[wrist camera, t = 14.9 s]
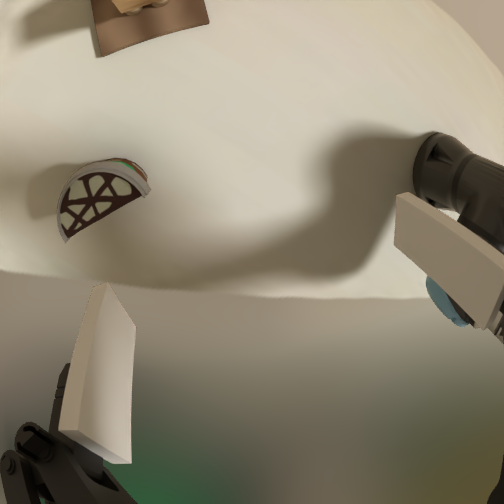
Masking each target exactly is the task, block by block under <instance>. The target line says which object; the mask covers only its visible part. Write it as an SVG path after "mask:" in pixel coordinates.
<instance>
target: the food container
mask: <svg viewBox="0 0 504 504" xmlns="http://www.w3.org/2000/svg"><path fill="white" fill-rule="evenodd" d="M147 178H148V177H147V175H146V174H145V172H144V171H143V169H141V168H140V167H139V166H138V165H137V164H136V163H134V162H132V161H129V160H127V159H122V158H113V159H109V160H106V161H102V162H95V163H92V164H89V165H86V166H84V167H83V168H81V169H79V170H78V171H77V172H75V173H74V174H73V175H72V176H71V178H70V179H69V180H68V181H67V183H66V185H65V186H64V188H63V190H62V193H61V195H60V198H59V201H58V206H57V222H58V227H59V231H60V234H61V236H62V238H63V240H64V242H65V243H66V242H67V241H68V240H69V238H70V237H71V236H73V235H74V234H76V233H77V232H79V231H80V230H82V229H84V228H86V227H87V226H89V225H91V224H92V223H94V222H96V221H98V220H100V219H102V218H103V217H105V216H107V215H108V214H110V213H111V212H113V211H115V210H117V209H118V208H120V207H122V206H124V205H125V204H127V203H129V202H131V201H133V200H135V199H136V198H138V197H140V196H143V197H144V198H145V196H146V195H148V193H149V192H150V190H151V188H150V187H149V185H148V184H147Z"/></svg>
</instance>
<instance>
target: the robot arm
mask: <svg viewBox="0 0 504 504" xmlns="http://www.w3.org/2000/svg"><path fill="white" fill-rule="evenodd" d="M413 182H414V188H415V191H416V194H417V196H418V197H419V198H418V197H416V196H414V195H413V194H411V193H409V192H405V193H402V194H398V195H396V218H395V236H394V246H396V247H397V248H398V249H399V250H400V251H401V252H403V253H404V254H405V255H406V256H407V257H408V258H409V259H411V260H412V261H413V262H414V263H415V264H416V265H417V266H418V267H419V268H421V269H422V270H423V271H424V272H425V273H426V274H427V275H428V276H427V278H426V287H427V291H428V293H429V295H430V297H431V299H432V300H433V302H434V303H435V305H436V306H437V307H438V308H439V310H440V311H441V312H442V313H443V314H444V315H445V316H446V317H447V318H448V319H451V320H452V322H453V323H454V324H456V325H457V326H460V327H465V326H466V325H468V324H469V323H470V324H471V325H472V326H473V327H474V328H481V329H482V330H485V329H486V328H488V329H489V330H490V331H491V332H492V333H493V334H494V335H495V336H496V337H497V338H498V339H499V340H500V341H501V342H502V343H503V344H504V166H502V165H500V164H497V163H495V162H493V161H491V160H488V159H486V158H483V157H481V156H479V155H476V154H474V153H473V152H472V151H470V150H469V149H468V148H467V147H466V146H465V145H463V144H462V143H461V142H460V141H459V140H457V139H456V138H454V137H453V136H450V135H447V134H443V133H437V134H434V135H432V136H431V137H429V138H428V139H427V140H426V141H425V142H424V143H423V145H422V146H421V148H420V150H419V152H418V154H417V157H416V160H415V164H414V171H413ZM438 209H443V210H449V211H455V212H457V213H459V214H460V216H459V218H458V220H457V221H455V220H454V219H452V218H451V217H449V216H448V215H446V214H444V213H443V212H441V211H440V210H438ZM135 335H136V326H135V325H134V323H133V322H132V320H131V319H130V317H129V315H128V314H127V312H126V311H125V309H124V307H123V306H122V304H121V303H120V301H119V299H118V298H117V296H116V294H115V293H114V291H113V289H112V288H111V286H110V284H109V282H106V283H103V284H100V285H97V286H94V287H93V290H92V293H91V295H90V299H89V301H88V305H87V308H86V311H85V314H84V317H83V320H82V324H81V327H80V331H79V334H78V337H77V341H76V345H75V348H74V352H73V356H72V361H71V363H67V364H66V365H65V367H64V369H63V370H62V372H61V374H60V376H59V380H58V385H57V388H58V389H57V390H56V394H55V398H56V399H54V403H53V409H52V414H51V420H50V426H49V433H48V432H47V431H45V430H43V429H42V428H41V427H40V426H38V425H37V424H35V423H33V422H26V423H25V424H23V425H22V426H21V427H20V428H19V430H18V431H17V434H16V437H15V450H16V452H15V451H13V450H7V451H6V452H5V453H4V454H3V456H2V457H1V460H0V473H1V478H2V483H3V488H4V493H5V497H6V501H7V504H41V502H40V499H39V497H41V498H43V499H45V503H46V504H137V502H136V501H135V500H134V499H133V498H132V497H131V496H130V495H129V494H128V493H127V491H126V490H125V489H124V488H123V487H122V486H121V485H120V484H119V482H118V481H117V480H116V479H115V478H114V476H113V475H112V474H111V473H110V471H109V470H108V469H107V468H105V467H104V466H103V459H105V460H107V461H109V462H111V463H112V464H123V463H124V464H125V463H132V462H131V392H132V391H131V390H132V373H133V372H132V371H133V358H134V346H135ZM17 452H18V453H17ZM20 454H21V455H20ZM487 504H504V456H503V463H502V469H501V475H500V480H499V482H498V484H497V486H496V487H495V489H494V490H493V491H492V493H491V495H490V496H489V499H488V501H487Z"/></svg>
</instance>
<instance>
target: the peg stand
mask: <svg viewBox="0 0 504 504" xmlns="http://www.w3.org/2000/svg"><path fill="white" fill-rule="evenodd" d="M91 4H92V10H93V15H94V21H95V26H96V31H97V36H98V40H99V45H100V50H101V54H102V56H103V57H105V56H107V55H109V54H112V53H114V52H117V51H119V50H122V49H124V48H127V47H130V46H132V45H135V44H138V43H141V42H144V41H147V40H150V39H153V38H156V37H159V36H163V35H166V34H170V33H173V32H177V31H181V30H185V29H189V28H193V27H197V26H202V25H206V24H209V18H208V14H207V10H206V6H205V3H204V0H162V1H158V2H155V3H151V4H148V5H145V6H142V7H139V8H136V9H133V10H130V11H127V12H124V13H122V14H121V12H120V11H119V10H118V8H117V7H116V6H115V4H114V3H113V2H112V0H91Z"/></svg>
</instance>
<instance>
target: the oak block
mask: <svg viewBox="0 0 504 504" xmlns="http://www.w3.org/2000/svg"><path fill="white" fill-rule="evenodd" d="M158 1H162V0H112V2H113V3H114V4H115V6H116V7H117V8H118V10H119V11H120V12H121V14H122V13H124V12H127V11H130V10H133V9H136V8H139V7H142V6H145V5H148V4H151V3H155V2H158Z"/></svg>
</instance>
